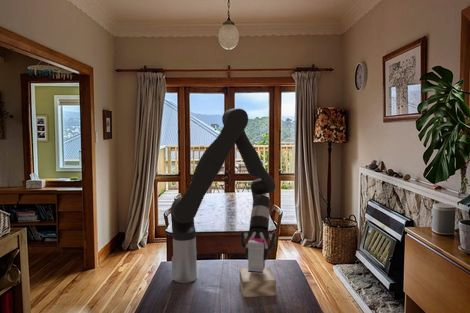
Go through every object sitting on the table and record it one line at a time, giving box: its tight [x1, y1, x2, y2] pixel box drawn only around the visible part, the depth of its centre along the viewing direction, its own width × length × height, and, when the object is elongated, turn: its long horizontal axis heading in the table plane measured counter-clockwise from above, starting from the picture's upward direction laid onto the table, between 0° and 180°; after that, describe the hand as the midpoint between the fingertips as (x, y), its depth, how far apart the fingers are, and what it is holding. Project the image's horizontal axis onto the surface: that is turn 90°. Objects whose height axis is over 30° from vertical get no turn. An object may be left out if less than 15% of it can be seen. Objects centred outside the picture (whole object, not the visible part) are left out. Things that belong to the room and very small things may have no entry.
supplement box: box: [247, 238, 266, 273], centre depth 130 cm, size 6×6×12 cm
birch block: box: [238, 266, 277, 298], centre depth 131 cm, size 12×12×6 cm
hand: (256, 259), depth 128 cm, fingers closed on supplement box, 5 cm apart
